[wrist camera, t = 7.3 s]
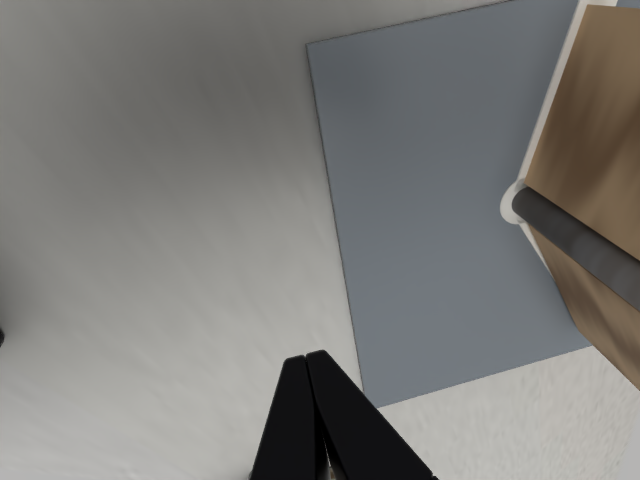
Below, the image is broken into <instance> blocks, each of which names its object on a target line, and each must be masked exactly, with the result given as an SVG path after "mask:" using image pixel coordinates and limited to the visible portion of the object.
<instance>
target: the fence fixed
mask: <svg viewBox="0 0 640 480" xmlns="http://www.w3.org/2000/svg"><path fill="white" fill-rule="evenodd" d="M524 183H525V184H526V185H528V186H529V187H526V188H523V189H522V190H520V191H519V192H518V193H517V194H516V195H515V196H514V198H513V200H512V210H513V211H514V212H515V213H516V214H517V215H519V216H520V217H521V218H522V219H524V220H525V221H526V222H527V223H529V224H530V225H531V226H532V227H534V228H535V229H536V230H538V231H539V232H540V233H541V234H543V235H544V236H545V237H546V238H548V239H549V240H550V241H551V242H553V243H554V244H555V245H557V246H558V247H559V248H560V249H562V250H563V251H564V252H565V253H567V254H568V255H569V256H570V257H572V258H573V259H574V260H575V261H577V262H578V263H579V264H581V265H582V266H583V267H584V268H586V269H587V270H588V271H589V272H591V273H592V274H593V275H594V276H596V277H597V278H598V279H599V280H601V281H602V282H603V283H605V284H606V285H607V286H608V287H610V288H611V289H612V290H613V291H615V292H616V293H617V294H618V295H620V296H621V297H622V298H624V299H625V300H626V301H627V302H629V303H630V304H631V305H632V306H634V307H635V308H636V309H637V310H639V311H640V8H628V7H615V6H603V5H590V4H587V6H586V9H585V12H584V15H583V18H582V21H581V23H580V26H579V29H578V32H577V35H576V37H575V40H574V43H573V46H572V49H571V51H570V54H569V57H568V60H567V63H566V65H565V68H564V71H563V74H562V77H561V79H560V82H559V85H558V88H557V91H556V94H555V96H554V99H553V102H552V105H551V108H550V110H549V113H548V116H547V119H546V122H545V124H544V127H543V130H542V133H541V136H540V138H539V141H538V144H537V147H536V150H535V152H534V155H533V158H532V161H531V164H530V167H529V169H528V172H527V175H526V178H525V181H524Z"/></svg>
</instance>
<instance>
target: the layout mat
mask: <svg viewBox="0 0 640 480" xmlns="http://www.w3.org/2000/svg"><path fill="white" fill-rule="evenodd" d="M587 4H590V5H603V6H615V7H628V8H640V0H510V1H506V2H501V3H496V4H492V5H487V6H482V7H477V8H473V9H468V10H463V11H459V12H454V13H449V14H445V15H440V16H435V17H430V18H426V19H421V20H416V21H412V22H407V23H402V24H398V25H393V26H388V27H383V28H379V29H374V30H369V31H365V32H360V33H355V34H350V35H346V36H341V37H336V38H332V39H327V40H322V41H318V42H313V43H308V44H306V48H307V54H308V60H309V66H310V72H311V78H312V84H313V90H314V96H315V102H316V108H317V114H318V120H319V126H320V132H321V138H322V144H323V150H324V156H325V162H326V168H327V174H328V180H329V186H330V192H331V198H332V204H333V210H334V216H335V222H336V228H337V234H338V240H339V246H340V252H341V258H342V264H343V270H344V276H345V282H346V288H347V294H348V300H349V306H350V312H351V318H352V324H353V330H354V336H355V342H356V348H357V354H358V360H359V366H360V372H361V378H362V384H363V390H364V395H365V396H366V397H367V398H368V399H369V401H370V402H371V403H372V404H373V405H374V406H375V407H376V408H380V407H383V406H386V405H390V404H393V403H397V402H400V401H404V400H407V399H410V398H414V397H417V396H421V395H424V394H428V393H431V392H434V391H438V390H441V389H445V388H448V387H452V386H455V385H458V384H462V383H465V382H469V381H472V380H476V379H479V378H482V377H486V376H489V375H493V374H496V373H500V372H503V371H506V370H510V369H513V368H517V367H520V366H524V365H527V364H530V363H534V362H537V361H541V360H544V359H548V358H551V357H554V356H558V355H561V354H565V353H568V352H572V351H575V350H578V349H582V348H585V347H589V346H592V344H591V343H590V342H589V341H588V340H587V339H586V338H585V337H584V336H583V335H582V334H581V333H580V332H579V331H578V329H577V327H576V324H575V322H574V320H573V318H572V316H571V314H570V312H569V310H568V307H567V305H566V303H565V301H564V299H563V297H562V295H561V293H560V291H559V288H558V286H557V284H556V282H555V280H554V278H553V276H552V274H551V272H550V269H549V267H548V265H547V263H546V261H545V259H544V257H543V255H542V253H541V250H540V248H539V246H538V244H537V242H536V240H535V238H534V236H533V234H532V231H531V229H530V227H529V225H528V224H529V223H527V222H526V221H525V220H524V219H522V218H521V217H520V216H519V215H517V214H516V213H515V212H514V211H513V210H512V200H513V198H514V196H515V195H516V194H517V193H518V192H519V191H520V190H522V189H523V188H526V187H529V186H528V185H526V184H525V183H524V181H525V178H526V175H527V172H528V169H529V167H530V164H531V161H532V158H533V155H534V152H535V150H536V147H537V144H538V141H539V138H540V136H541V133H542V130H543V127H544V124H545V122H546V119H547V116H548V113H549V110H550V108H551V105H552V102H553V99H554V96H555V94H556V91H557V88H558V85H559V82H560V79H561V77H562V74H563V71H564V68H565V65H566V63H567V60H568V57H569V54H570V51H571V49H572V46H573V43H574V40H575V37H576V35H577V32H578V29H579V26H580V23H581V21H582V18H583V15H584V12H585V9H586V6H587Z"/></svg>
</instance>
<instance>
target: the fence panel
mask: <svg viewBox="0 0 640 480" xmlns="http://www.w3.org/2000/svg"><path fill="white" fill-rule="evenodd" d="M528 225H529V227H530V229H531V231H532V234H533V236H534V238H535V240H536V242H537V244H538V246H539V248H540V250H541V253H542V255H543V257H544V259H545V261H546V263H547V265H548V267H549V269H550V272H551V274H552V276H553V278H554V280H555V282H556V284H557V286H558V288H559V291H560V293H561V295H562V297H563V299H564V301H565V303H566V305H567V307H568V310H569V312H570V314H571V316H572V318H573V320H574V322H575V324H576V327H577V329H578V331H579V332H580V333H581V334H582V335H583V336H584V337H585V338H586V339H587V340H588V341H589V342H590V343H591V344H592V345H593V346H594V347H595V348H596V349H597V350H598V351H600V352H601V353H602V354H603V355H604V356H605V357H606V358H607V359H608V360H609V361H610V362H611V363H612V364H613V365H614V366H615V367H616V368H617V369H618V370H619V371H620V372H621V373H622V374H623V375H624V376H625V377H626V378H627V379H628V380H629V381H630V382H631V383H632V384H633V385H634V386H635V387H636V388H637V389H638V390H639V391H640V311H639V310H637V309H636V308H635V307H634V306H632V305H631V304H630V303H629V302H627V301H626V300H625V299H624V298H622V297H621V296H620V295H618V294H617V293H616V292H615V291H613V290H612V289H611V288H610V287H608V286H607V285H606V284H605V283H603V282H602V281H601V280H599V279H598V278H597V277H596V276H594V275H593V274H592V273H591V272H589V271H588V270H587V269H586V268H584V267H583V266H582V265H581V264H579V263H578V262H577V261H575V260H574V259H573V258H572V257H570V256H569V255H568V254H567V253H565V252H564V251H563V250H562V249H560V248H559V247H558V246H557V245H555V244H554V243H553V242H551V241H550V240H549V239H548V238H546V237H545V236H544V235H543V234H541V233H540V232H539V231H538V230H536V229H535V228H534V227H532V226H531V225H530V224H528Z"/></svg>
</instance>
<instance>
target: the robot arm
mask: <svg viewBox="0 0 640 480" xmlns="http://www.w3.org/2000/svg"><path fill="white" fill-rule="evenodd" d="M3 342H4V337H3V335H2V334H1V333H0V347H1V345H2V344H3ZM324 441H325V442H324ZM325 445H326V446H325ZM326 449H327V451H326ZM327 453H328V456H327ZM328 457H329V461H330V464H331V468H332V471H333V474H334V477H335V480H439V479H438V478H437V477H436V476H433V473H432V471H431V470H430V469H429V468H428V467H427V466H426V465H425V463H424V462H423V461H422V460H421V459H420V458H419V457H418V455H417V454H416V453H415V452H414V451H413V450H412V449H411V447H410V446H409V445H408V444H407V443H406V442H405V441H404V439H403V438H402V437H401V436H400V435H399V434H398V433H397V431H396V430H395V429H394V428H393V427H392V426H391V425H390V423H389V422H388V421H387V420H386V419H385V418H384V417H383V415H382V414H381V413H380V412H379V411H378V410H377V409H376V407H375V406H374V405H373V404H372V403H371V402H370V401H369V399H368V398H367V397H366V396H365V395H364V394H363V393H362V392H361V390H360V389H359V388H358V387H357V386H356V385H355V384H354V382H353V381H352V380H351V379H350V378H349V377H348V376H347V374H346V373H345V372H344V371H343V370H342V369H341V368H340V366H339V365H338V364H337V363H336V362H335V361H334V360H333V358H332V357H331V356H330V355H329V354H328V353H327V352H326V351H325V350H319V351H315V352H311V353H307V354H306V358H305V356H304V355H299V356H295V357H291V358H287V359H286V360H285V361H284V363H283V367H282V370H281V373H280V377H279V380H278V384H277V387H276V390H275V394H274V397H273V401H272V404H271V407H270V411H269V414H268V418H267V421H266V424H265V428H264V431H263V435H262V438H261V441H260V445H259V448H258V452H257V455H256V458H255V462H254V465H253V469H252V472H251V475H250V479H249V480H331V476H330V468H329V461H328Z"/></svg>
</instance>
